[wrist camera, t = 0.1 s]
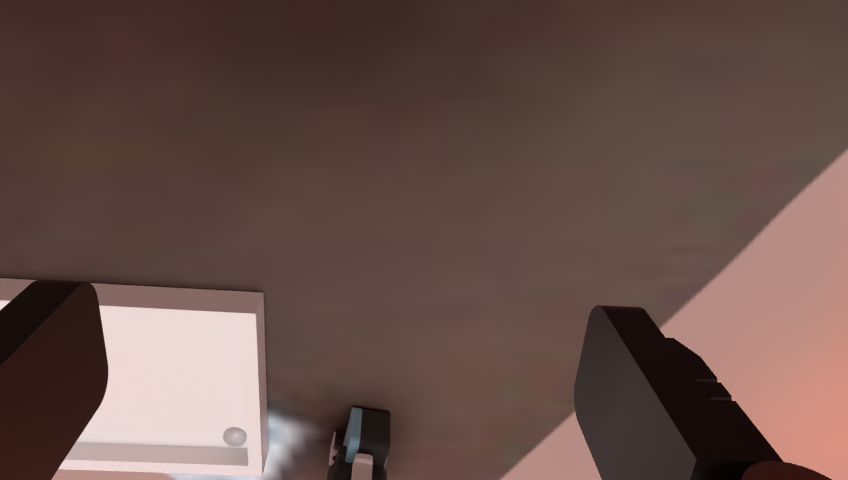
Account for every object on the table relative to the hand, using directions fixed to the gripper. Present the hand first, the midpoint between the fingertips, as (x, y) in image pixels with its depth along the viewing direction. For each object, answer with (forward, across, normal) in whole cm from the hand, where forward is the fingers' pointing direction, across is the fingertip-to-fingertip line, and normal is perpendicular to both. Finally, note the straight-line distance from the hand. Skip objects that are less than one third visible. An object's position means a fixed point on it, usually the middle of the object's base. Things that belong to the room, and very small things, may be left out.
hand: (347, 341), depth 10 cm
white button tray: (+18, +11, +14) cm, 26 cm away
